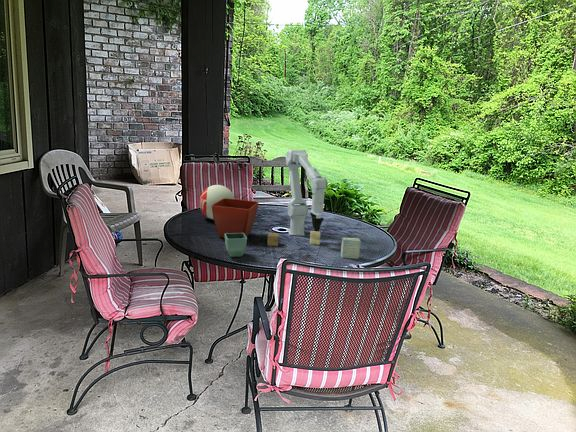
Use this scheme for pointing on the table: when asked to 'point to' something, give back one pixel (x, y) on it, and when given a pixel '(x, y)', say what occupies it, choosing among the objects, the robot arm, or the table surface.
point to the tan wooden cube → (272, 239)
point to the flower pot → (235, 243)
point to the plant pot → (234, 216)
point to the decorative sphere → (213, 198)
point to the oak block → (314, 237)
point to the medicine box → (350, 248)
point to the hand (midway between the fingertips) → (315, 229)
